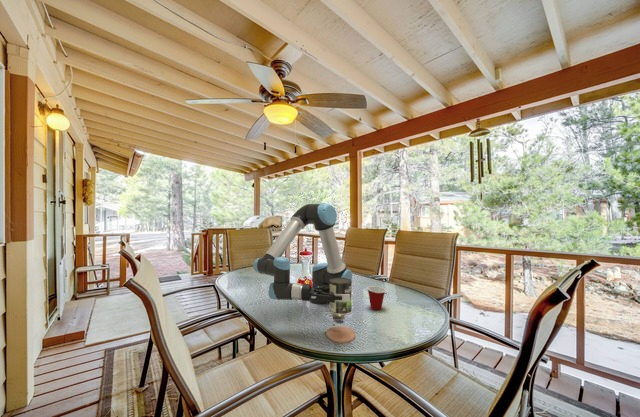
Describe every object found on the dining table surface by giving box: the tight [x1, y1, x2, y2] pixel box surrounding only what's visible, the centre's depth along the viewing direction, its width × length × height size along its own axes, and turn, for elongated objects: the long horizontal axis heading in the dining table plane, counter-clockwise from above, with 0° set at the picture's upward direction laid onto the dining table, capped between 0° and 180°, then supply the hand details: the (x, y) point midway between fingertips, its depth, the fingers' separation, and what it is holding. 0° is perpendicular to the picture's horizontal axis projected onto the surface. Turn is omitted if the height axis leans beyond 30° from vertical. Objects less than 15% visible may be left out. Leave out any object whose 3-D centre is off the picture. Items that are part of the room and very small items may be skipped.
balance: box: [332, 314, 345, 320], centre depth 141 cm, size 17×6×11 cm, turn 1°
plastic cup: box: [366, 285, 387, 312], centre depth 152 cm, size 11×11×12 cm
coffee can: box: [329, 278, 353, 316], centre depth 120 cm, size 10×10×14 cm
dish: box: [326, 325, 356, 344], centre depth 120 cm, size 13×13×2 cm
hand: (349, 293), depth 119 cm, fingers closed on coffee can, 10 cm apart
